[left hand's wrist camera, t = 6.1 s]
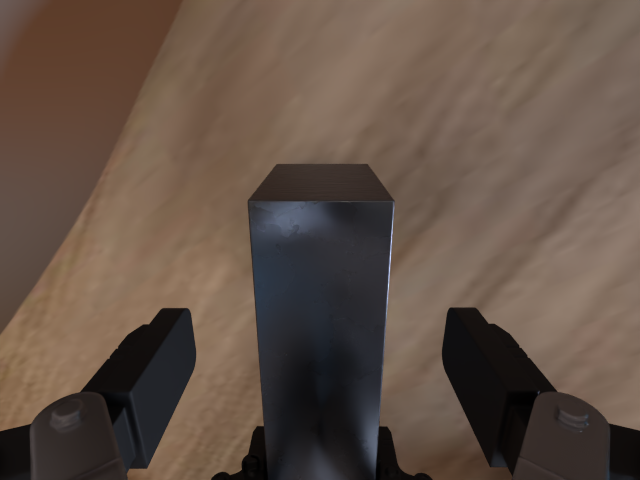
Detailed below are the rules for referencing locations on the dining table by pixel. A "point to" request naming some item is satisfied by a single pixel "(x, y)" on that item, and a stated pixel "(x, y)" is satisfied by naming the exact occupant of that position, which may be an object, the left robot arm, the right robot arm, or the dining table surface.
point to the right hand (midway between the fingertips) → (322, 398)
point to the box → (321, 316)
